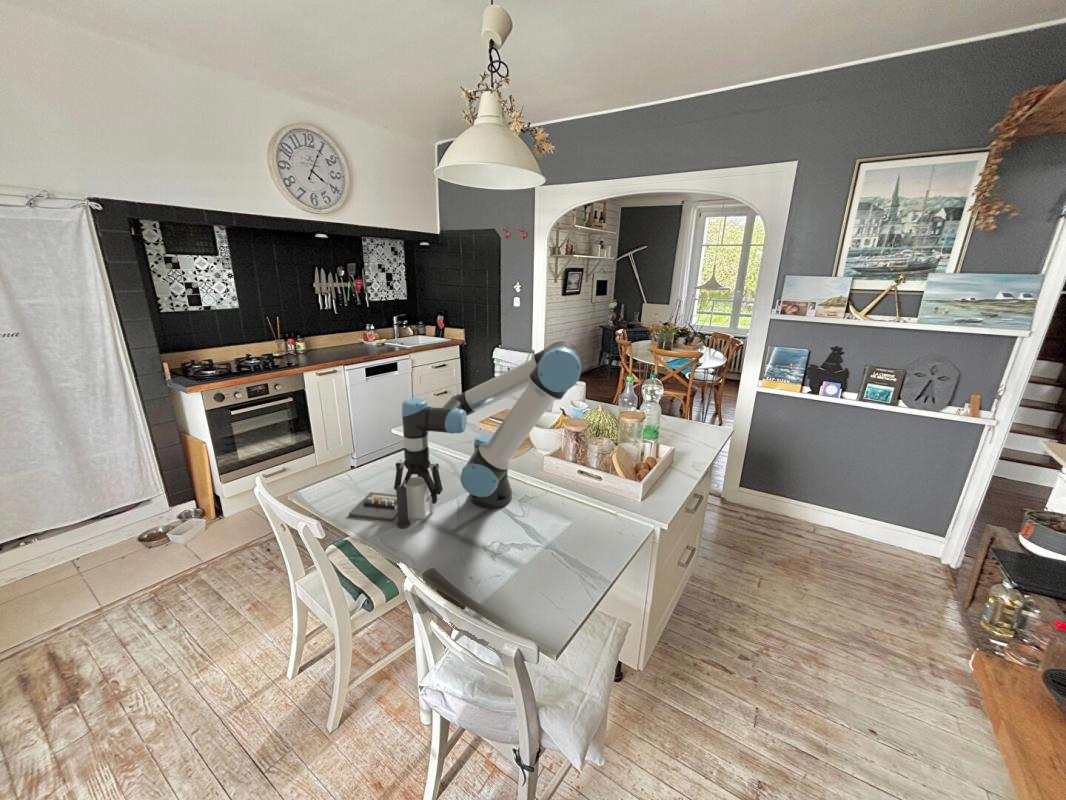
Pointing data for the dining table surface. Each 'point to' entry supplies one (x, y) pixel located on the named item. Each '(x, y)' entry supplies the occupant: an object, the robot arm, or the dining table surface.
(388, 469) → the dining table surface
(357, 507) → the breaker panel
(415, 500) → the mug
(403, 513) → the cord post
